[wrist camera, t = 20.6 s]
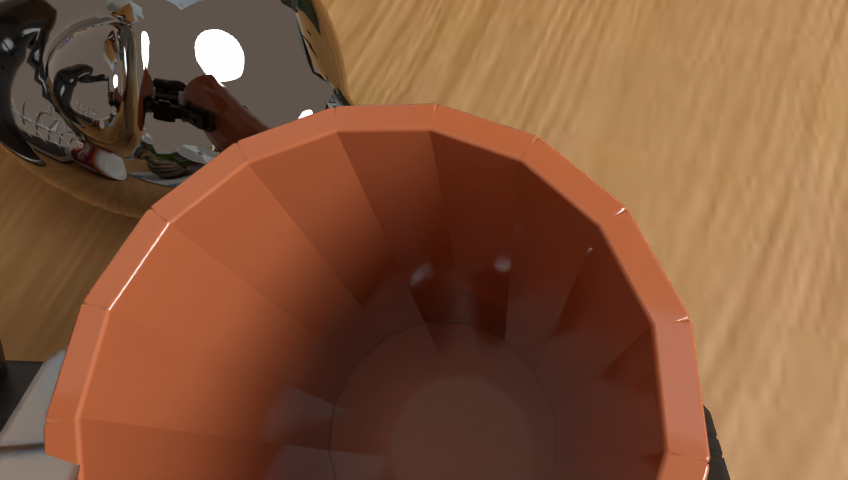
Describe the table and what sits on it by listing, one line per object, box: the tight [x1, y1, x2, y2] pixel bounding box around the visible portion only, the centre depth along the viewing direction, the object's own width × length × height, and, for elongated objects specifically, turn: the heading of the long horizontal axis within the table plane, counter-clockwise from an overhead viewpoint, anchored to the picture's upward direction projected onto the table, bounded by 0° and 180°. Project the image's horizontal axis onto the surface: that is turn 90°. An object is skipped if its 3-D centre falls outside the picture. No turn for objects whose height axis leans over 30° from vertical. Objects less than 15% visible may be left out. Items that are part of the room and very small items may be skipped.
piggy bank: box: [0, 0, 355, 219], centre depth 19 cm, size 11×15×12 cm
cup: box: [44, 104, 710, 480], centre depth 10 cm, size 7×7×10 cm
